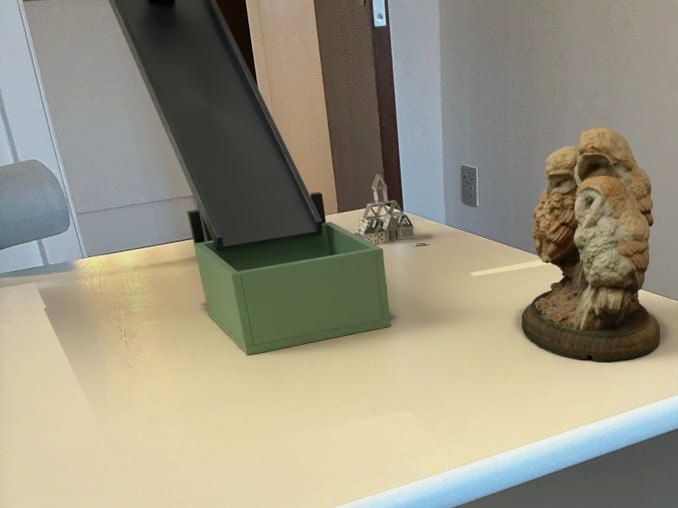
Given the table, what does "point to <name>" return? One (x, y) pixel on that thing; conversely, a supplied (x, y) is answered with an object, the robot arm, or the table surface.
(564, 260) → the owl figurine
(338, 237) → the green storage bin
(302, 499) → the table surface
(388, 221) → the house of cards
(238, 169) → the grey slide chute
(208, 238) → the stand
